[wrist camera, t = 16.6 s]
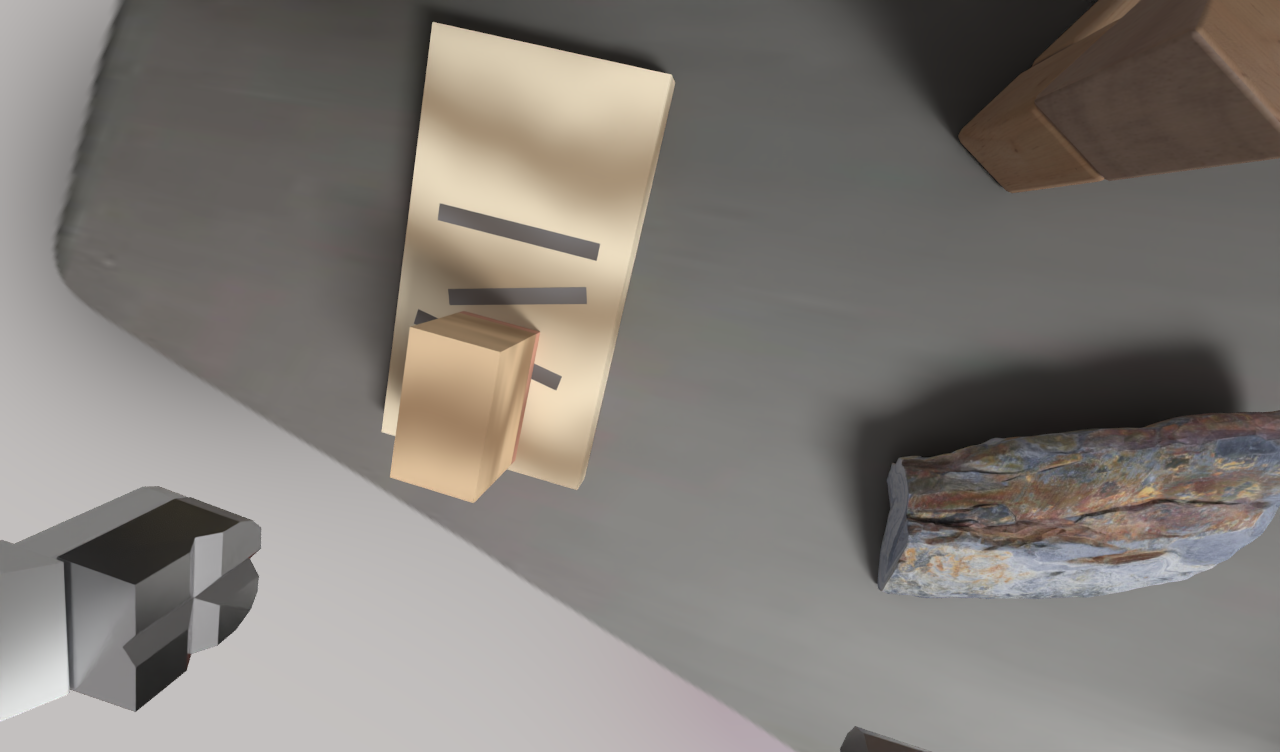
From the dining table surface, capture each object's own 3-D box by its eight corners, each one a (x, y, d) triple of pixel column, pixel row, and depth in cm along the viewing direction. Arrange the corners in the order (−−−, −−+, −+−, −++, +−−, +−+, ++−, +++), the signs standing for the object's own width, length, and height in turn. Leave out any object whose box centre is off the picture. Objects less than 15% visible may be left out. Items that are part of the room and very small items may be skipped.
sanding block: (463, 310, 29) (410, 326, 25) (540, 331, 29) (500, 352, 24) (443, 439, 31) (390, 477, 27) (515, 460, 31) (473, 503, 26)
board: (448, 32, 28) (432, 21, 26) (675, 82, 27) (671, 74, 25) (397, 423, 33) (381, 432, 32) (584, 478, 32) (577, 490, 31)
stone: (891, 644, 29) (876, 496, 25) (869, 566, 34) (852, 426, 29) (1309, 614, 26) (1390, 431, 21) (1227, 530, 30) (1279, 361, 25)
